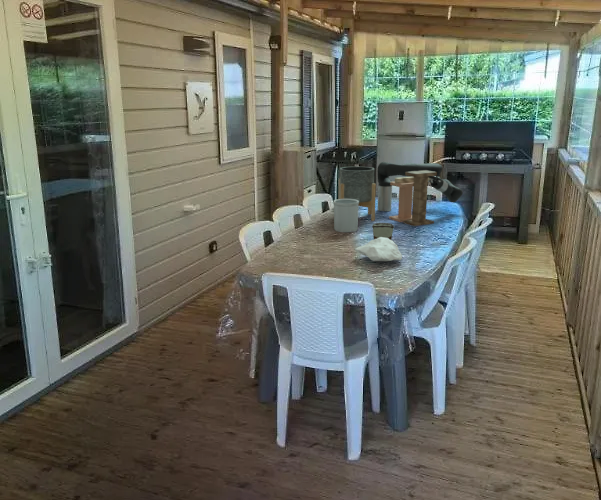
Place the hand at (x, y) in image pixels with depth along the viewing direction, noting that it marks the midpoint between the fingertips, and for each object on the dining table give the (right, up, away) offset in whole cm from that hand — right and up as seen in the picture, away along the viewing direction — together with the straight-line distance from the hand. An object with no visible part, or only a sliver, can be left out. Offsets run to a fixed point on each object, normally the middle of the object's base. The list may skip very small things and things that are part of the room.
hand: (423, 173), depth 354 cm
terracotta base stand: (-12, -29, +2) cm, 31 cm away
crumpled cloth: (-41, -53, -83) cm, 107 cm away
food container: (-34, -45, -52) cm, 76 cm away
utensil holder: (-52, -37, -25) cm, 69 cm away
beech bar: (-7, -5, -2) cm, 9 cm away
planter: (-42, -28, +8) cm, 51 cm away
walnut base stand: (-5, -32, -10) cm, 34 cm away
